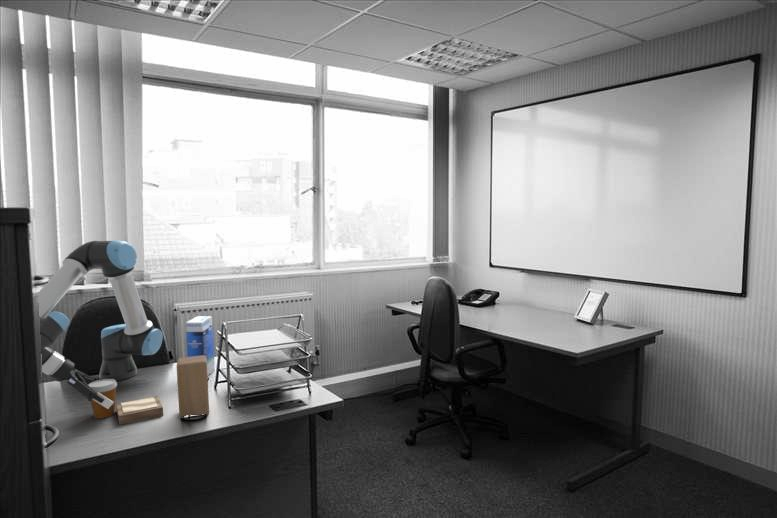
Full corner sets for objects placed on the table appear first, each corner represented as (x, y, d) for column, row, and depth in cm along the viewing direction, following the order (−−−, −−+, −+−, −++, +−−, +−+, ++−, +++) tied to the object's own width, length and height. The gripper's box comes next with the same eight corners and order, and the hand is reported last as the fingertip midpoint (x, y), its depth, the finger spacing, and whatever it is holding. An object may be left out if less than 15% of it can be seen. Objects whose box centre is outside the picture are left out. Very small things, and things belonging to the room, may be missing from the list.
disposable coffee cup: (124, 409, 186) (122, 378, 185) (109, 420, 177) (107, 387, 176) (99, 409, 187) (97, 378, 186) (83, 420, 177) (80, 387, 176)
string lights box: (199, 370, 232) (196, 316, 230) (215, 370, 232) (213, 315, 230) (188, 379, 219) (184, 322, 217) (205, 379, 219) (202, 322, 217)
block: (180, 409, 185) (177, 357, 183) (208, 405, 189) (206, 354, 187) (179, 420, 176) (176, 364, 174) (209, 415, 179) (206, 361, 178)
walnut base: (116, 411, 185) (115, 402, 184) (157, 403, 192) (157, 395, 192) (119, 424, 173) (118, 415, 173) (163, 415, 180) (162, 406, 180)
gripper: (50, 366, 182) (100, 397, 192) (47, 385, 161) (103, 419, 171) (66, 350, 185) (115, 381, 194) (65, 367, 164) (120, 401, 173)
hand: (109, 399), depth 182 cm, fingers open, 13 cm apart
